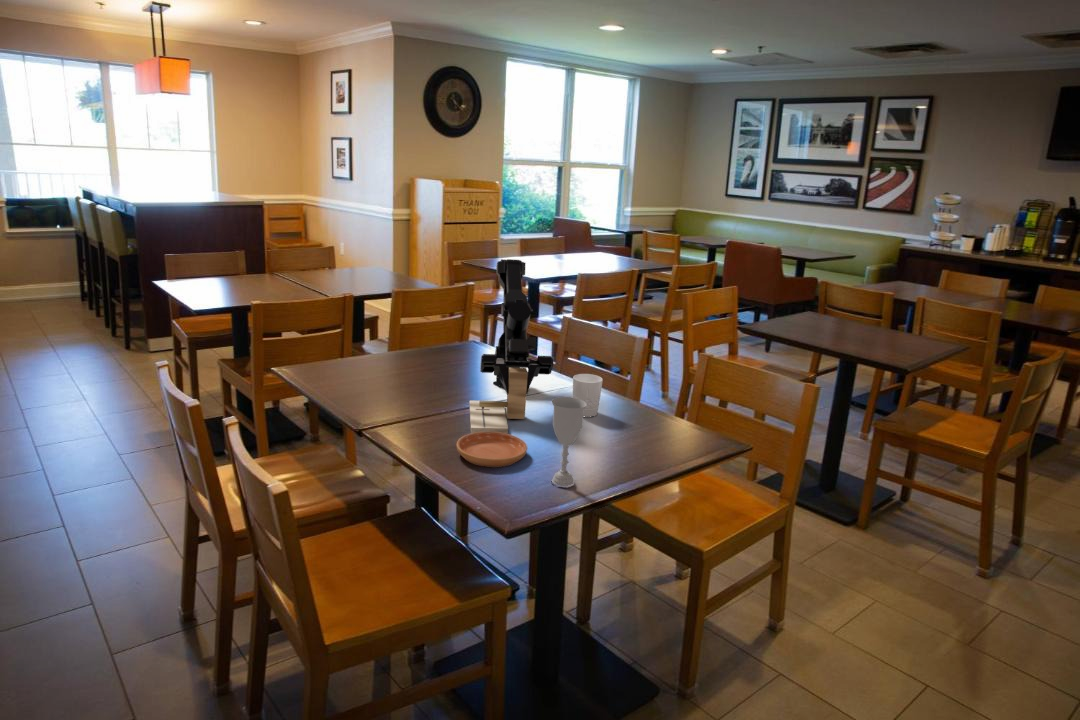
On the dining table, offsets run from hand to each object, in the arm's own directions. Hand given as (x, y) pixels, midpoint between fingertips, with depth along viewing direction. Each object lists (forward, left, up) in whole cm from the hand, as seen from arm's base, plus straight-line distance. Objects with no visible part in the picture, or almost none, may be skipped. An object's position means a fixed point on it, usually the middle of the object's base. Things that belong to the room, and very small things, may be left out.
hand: (517, 393), depth 184 cm
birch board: (+5, -5, -7) cm, 10 cm away
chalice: (+18, +33, -7) cm, 38 cm away
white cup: (-19, +8, -7) cm, 22 cm away
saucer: (+20, +13, -8) cm, 25 cm away
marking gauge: (+2, -3, -7) cm, 8 cm away
